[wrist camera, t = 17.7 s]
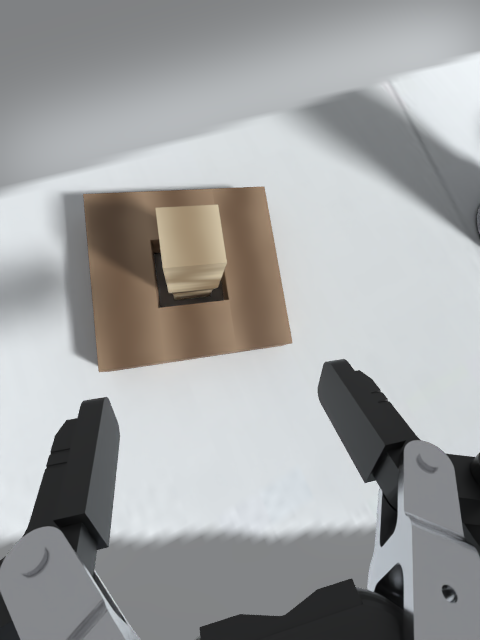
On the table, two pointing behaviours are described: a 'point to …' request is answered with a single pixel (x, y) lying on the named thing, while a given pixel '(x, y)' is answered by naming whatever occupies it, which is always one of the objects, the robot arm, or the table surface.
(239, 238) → the walnut board
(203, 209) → the oak peg
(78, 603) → the robot arm
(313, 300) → the table surface
